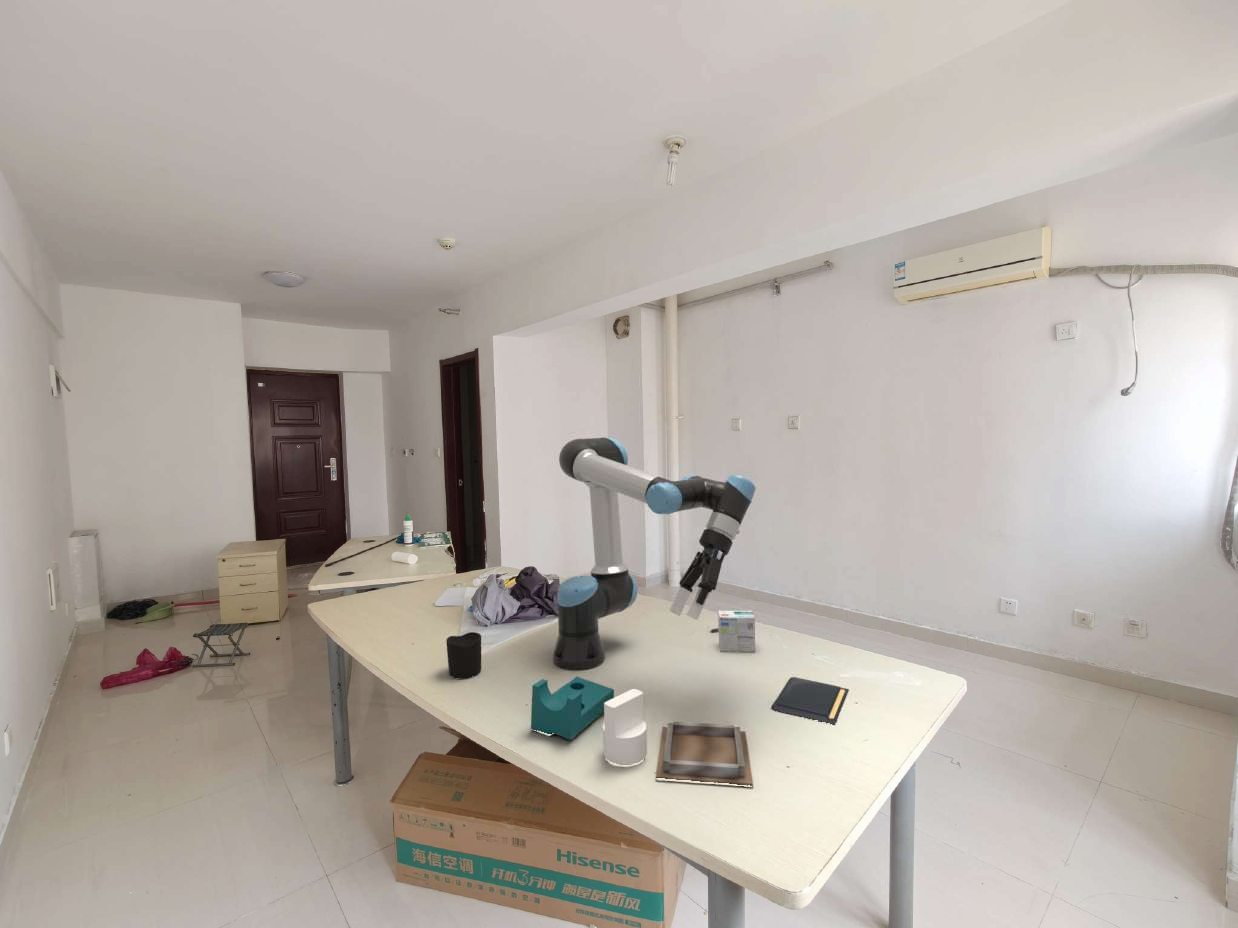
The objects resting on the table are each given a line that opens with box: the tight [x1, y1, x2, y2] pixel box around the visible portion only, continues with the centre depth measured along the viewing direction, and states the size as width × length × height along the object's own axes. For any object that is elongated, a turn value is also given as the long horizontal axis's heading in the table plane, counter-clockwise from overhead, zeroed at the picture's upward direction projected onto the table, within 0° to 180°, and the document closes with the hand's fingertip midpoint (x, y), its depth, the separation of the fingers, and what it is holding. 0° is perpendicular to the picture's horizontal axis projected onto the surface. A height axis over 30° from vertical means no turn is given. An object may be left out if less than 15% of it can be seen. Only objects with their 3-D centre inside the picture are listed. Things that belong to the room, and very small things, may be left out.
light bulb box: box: [717, 610, 756, 653], centre depth 169 cm, size 11×7×11 cm, turn 84°
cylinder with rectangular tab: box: [602, 688, 648, 765], centre depth 114 cm, size 9×9×12 cm
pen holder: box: [445, 631, 482, 679], centre depth 155 cm, size 9×9×10 cm
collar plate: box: [655, 721, 754, 787], centre depth 113 cm, size 18×18×3 cm
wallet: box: [770, 676, 850, 726], centre depth 136 cm, size 20×2×15 cm
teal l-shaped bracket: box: [530, 676, 615, 741], centre depth 129 cm, size 18×11×10 cm, turn 150°
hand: (682, 615), depth 130 cm, fingers open, 13 cm apart
